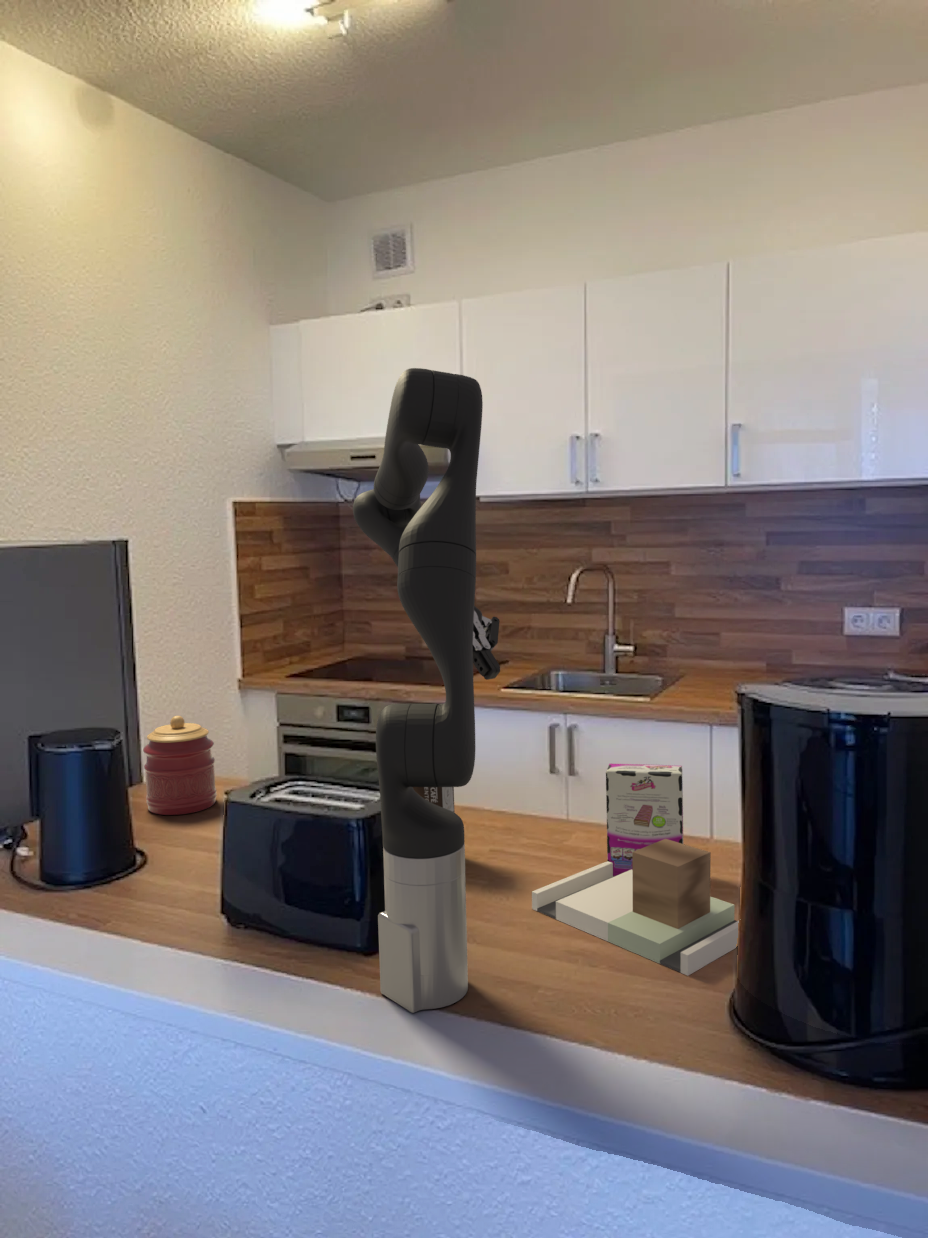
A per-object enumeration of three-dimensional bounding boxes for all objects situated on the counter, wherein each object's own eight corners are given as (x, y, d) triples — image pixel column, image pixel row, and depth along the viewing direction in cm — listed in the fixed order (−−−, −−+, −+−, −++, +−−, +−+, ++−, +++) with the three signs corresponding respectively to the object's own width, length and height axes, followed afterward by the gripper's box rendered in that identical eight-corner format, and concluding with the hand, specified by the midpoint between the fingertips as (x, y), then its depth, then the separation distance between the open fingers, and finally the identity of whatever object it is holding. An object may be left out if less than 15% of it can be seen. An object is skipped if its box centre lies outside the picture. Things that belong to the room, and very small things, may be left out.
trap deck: (687, 975, 106) (687, 955, 106) (532, 909, 125) (531, 891, 125) (761, 932, 117) (762, 914, 116) (607, 877, 136) (607, 861, 135)
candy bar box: (683, 870, 138) (683, 764, 136) (683, 883, 133) (683, 773, 131) (609, 865, 141) (608, 761, 139) (606, 877, 136) (605, 770, 134)
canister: (200, 791, 185) (195, 706, 183) (228, 805, 175) (223, 715, 173) (136, 805, 176) (130, 716, 175) (162, 821, 167) (156, 726, 165)
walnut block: (677, 929, 113) (677, 866, 112) (632, 911, 118) (632, 852, 117) (710, 912, 117) (710, 852, 116) (665, 896, 122) (665, 838, 122)
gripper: (411, 569, 128) (470, 664, 120) (480, 565, 137) (540, 653, 129) (390, 605, 133) (445, 698, 125) (458, 598, 142) (515, 685, 134)
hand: (493, 675), depth 127 cm, fingers closed
